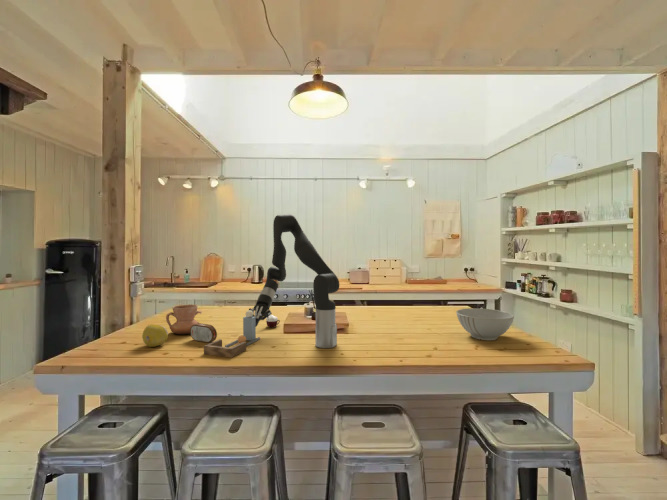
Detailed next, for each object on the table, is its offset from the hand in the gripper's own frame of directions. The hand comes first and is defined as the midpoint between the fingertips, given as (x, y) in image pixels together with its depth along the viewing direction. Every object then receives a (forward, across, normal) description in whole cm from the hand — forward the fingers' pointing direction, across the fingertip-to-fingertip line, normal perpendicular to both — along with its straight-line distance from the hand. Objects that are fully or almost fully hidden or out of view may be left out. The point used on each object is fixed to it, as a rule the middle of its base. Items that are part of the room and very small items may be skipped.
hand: (253, 326), depth 175 cm
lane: (+11, 0, -2) cm, 11 cm away
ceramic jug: (+7, -40, +2) cm, 41 cm away
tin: (+14, -20, -5) cm, 25 cm away
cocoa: (-12, -3, +21) cm, 25 cm away
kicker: (+7, 0, +1) cm, 7 cm away
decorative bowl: (-24, +109, +33) cm, 116 cm away
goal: (+20, 0, -12) cm, 23 cm away
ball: (+12, 0, -3) cm, 12 cm away
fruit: (+23, -36, -14) cm, 45 cm away
